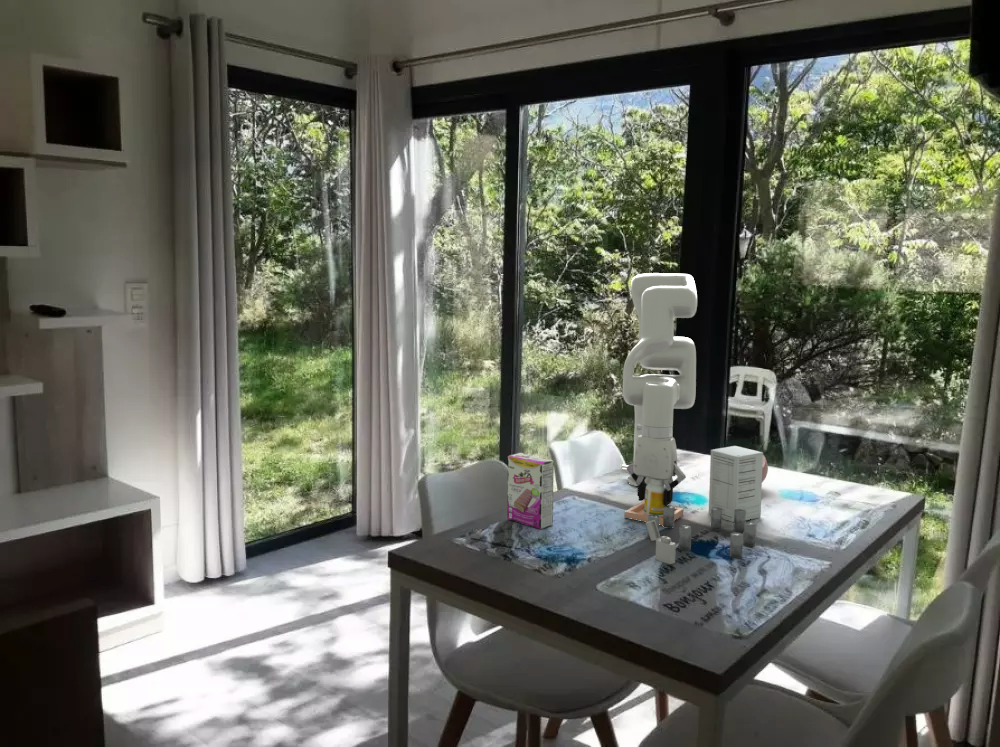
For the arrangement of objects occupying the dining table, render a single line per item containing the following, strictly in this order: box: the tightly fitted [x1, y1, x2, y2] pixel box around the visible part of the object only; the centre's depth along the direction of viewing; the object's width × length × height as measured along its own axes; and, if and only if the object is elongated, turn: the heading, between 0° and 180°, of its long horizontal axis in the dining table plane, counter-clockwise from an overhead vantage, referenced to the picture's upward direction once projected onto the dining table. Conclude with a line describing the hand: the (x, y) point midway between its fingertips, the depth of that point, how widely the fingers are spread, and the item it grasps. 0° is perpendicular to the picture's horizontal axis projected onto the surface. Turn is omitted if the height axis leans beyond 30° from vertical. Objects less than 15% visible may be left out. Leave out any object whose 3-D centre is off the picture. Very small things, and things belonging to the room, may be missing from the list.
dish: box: [624, 500, 685, 525], centre depth 207 cm, size 11×11×2 cm
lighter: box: [645, 520, 677, 565], centre depth 178 cm, size 7×2×8 cm, turn 40°
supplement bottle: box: [643, 478, 666, 517], centre depth 206 cm, size 5×5×10 cm
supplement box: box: [708, 445, 764, 523], centre depth 207 cm, size 10×9×17 cm
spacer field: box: [646, 504, 757, 560], centre depth 191 cm, size 23×22×5 cm
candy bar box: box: [506, 452, 555, 530], centre depth 201 cm, size 11×5×16 cm, turn 47°
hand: (654, 501), depth 206 cm, fingers open, 6 cm apart
